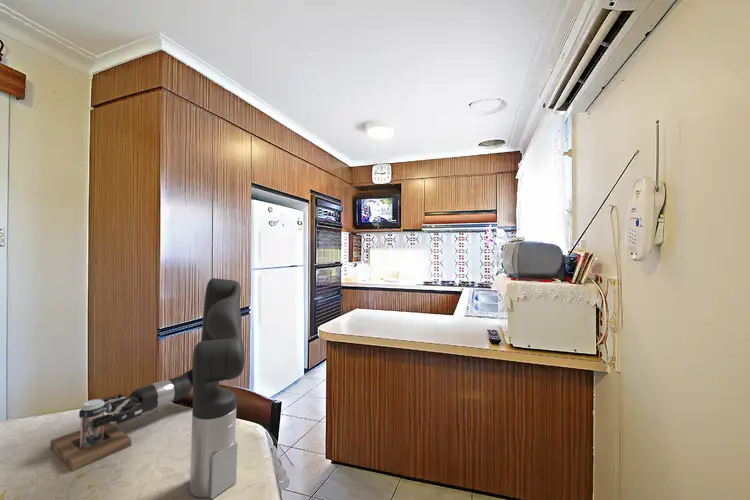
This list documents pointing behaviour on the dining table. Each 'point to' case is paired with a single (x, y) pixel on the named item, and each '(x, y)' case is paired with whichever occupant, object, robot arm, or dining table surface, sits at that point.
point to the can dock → (79, 458)
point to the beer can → (89, 413)
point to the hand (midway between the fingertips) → (85, 419)
